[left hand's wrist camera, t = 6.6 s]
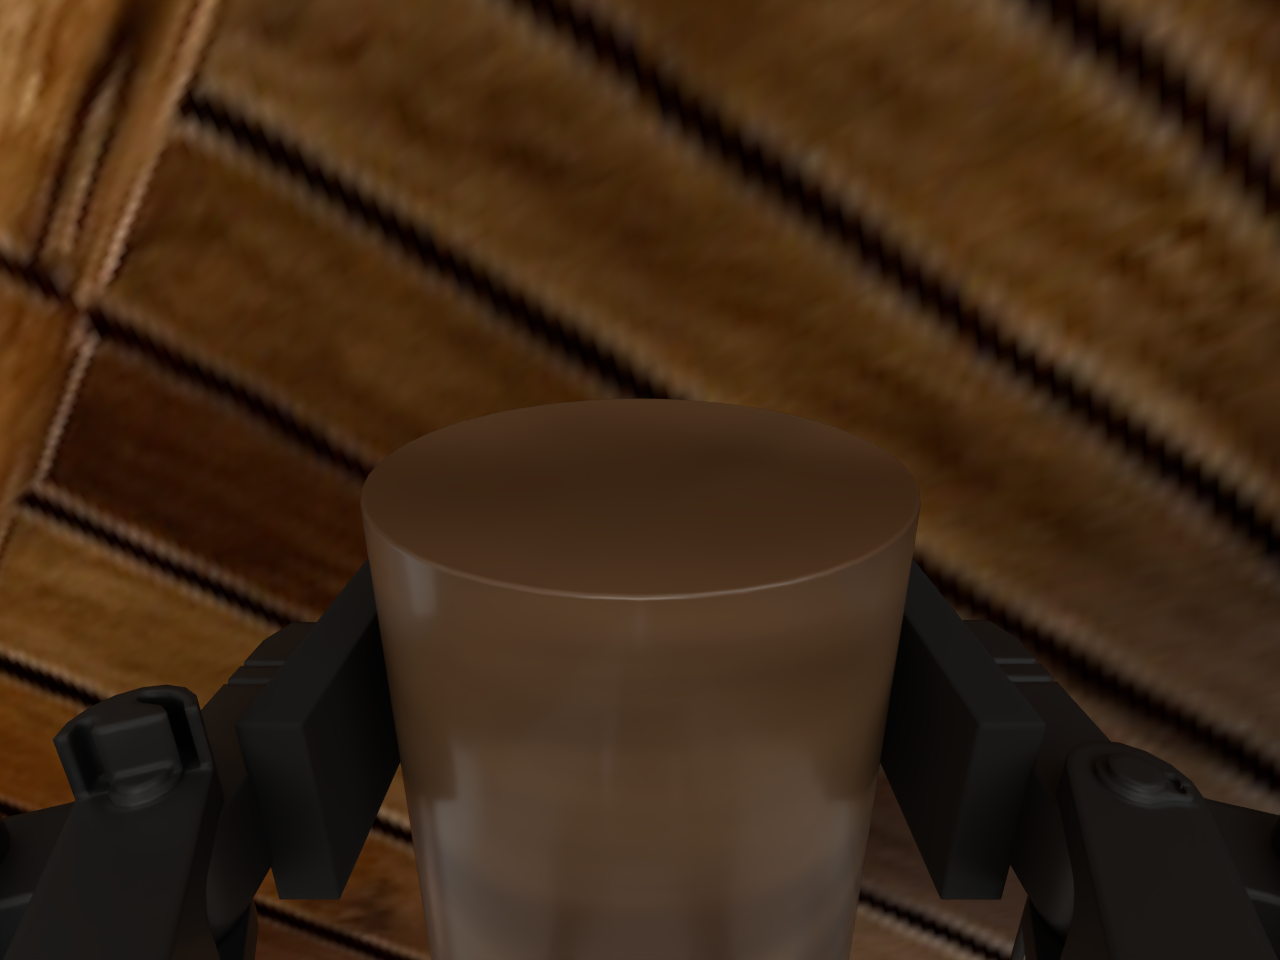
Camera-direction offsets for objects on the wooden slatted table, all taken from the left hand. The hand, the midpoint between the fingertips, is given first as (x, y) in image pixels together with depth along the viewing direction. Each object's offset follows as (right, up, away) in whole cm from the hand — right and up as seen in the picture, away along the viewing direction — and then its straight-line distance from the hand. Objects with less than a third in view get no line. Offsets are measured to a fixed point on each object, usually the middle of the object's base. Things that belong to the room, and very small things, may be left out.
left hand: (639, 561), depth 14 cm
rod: (0, -8, +3) cm, 8 cm away
